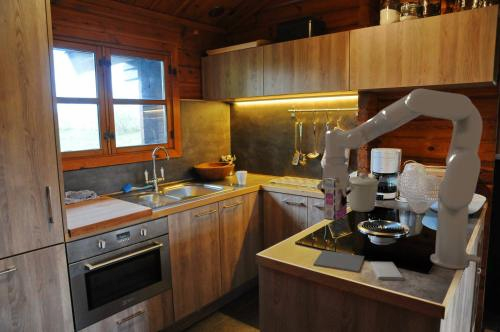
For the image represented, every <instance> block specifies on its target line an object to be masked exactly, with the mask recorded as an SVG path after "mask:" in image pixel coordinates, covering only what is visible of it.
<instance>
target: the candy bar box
mask: <svg viewBox="0 0 500 332" xmlns="http://www.w3.org/2000/svg"><path fill="white" fill-rule="evenodd" d="M346 190H347V189H346ZM323 197H324V200H323V201H324V206H323V207H324V214H323V215H324V218H323V219H324V220H327V221H332V222H334V221H337V220H339V219H340V218H342V217H345V216H346V215H347V214H348V213H347V212H348V211H347V210H348V209H347V208H348V203H347V204H346V205H345V206H342V197H343V193H342V190H340V183H339V179H336V178H327V179H324V194H323Z"/></svg>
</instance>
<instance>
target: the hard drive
mask: <svg viewBox="0 0 500 332" xmlns="http://www.w3.org/2000/svg"><path fill="white" fill-rule="evenodd" d="M369 265H370V268H371V269H372V271H373V273H374V275H375V277H376V279H377V280H379V281H404V276H403V274H401V272H400V271H399V268H397V266H396V265H395V263H394V262H393V261H370V262H369Z"/></svg>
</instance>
